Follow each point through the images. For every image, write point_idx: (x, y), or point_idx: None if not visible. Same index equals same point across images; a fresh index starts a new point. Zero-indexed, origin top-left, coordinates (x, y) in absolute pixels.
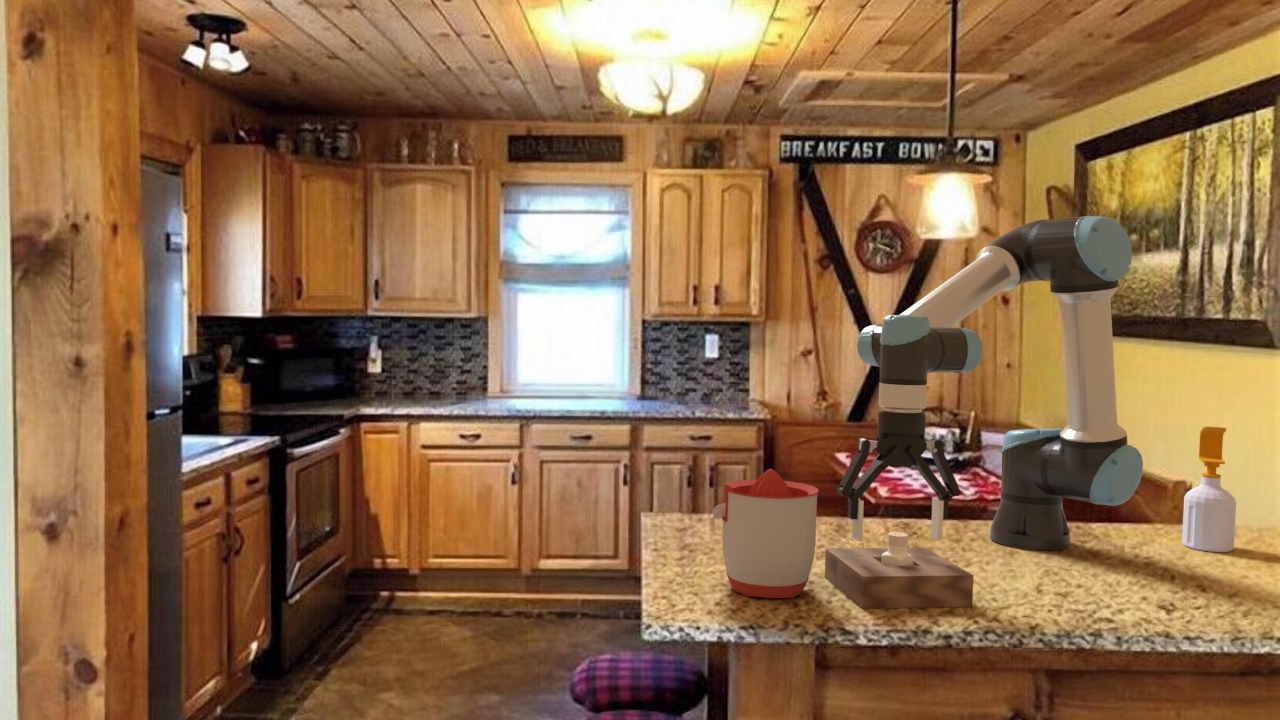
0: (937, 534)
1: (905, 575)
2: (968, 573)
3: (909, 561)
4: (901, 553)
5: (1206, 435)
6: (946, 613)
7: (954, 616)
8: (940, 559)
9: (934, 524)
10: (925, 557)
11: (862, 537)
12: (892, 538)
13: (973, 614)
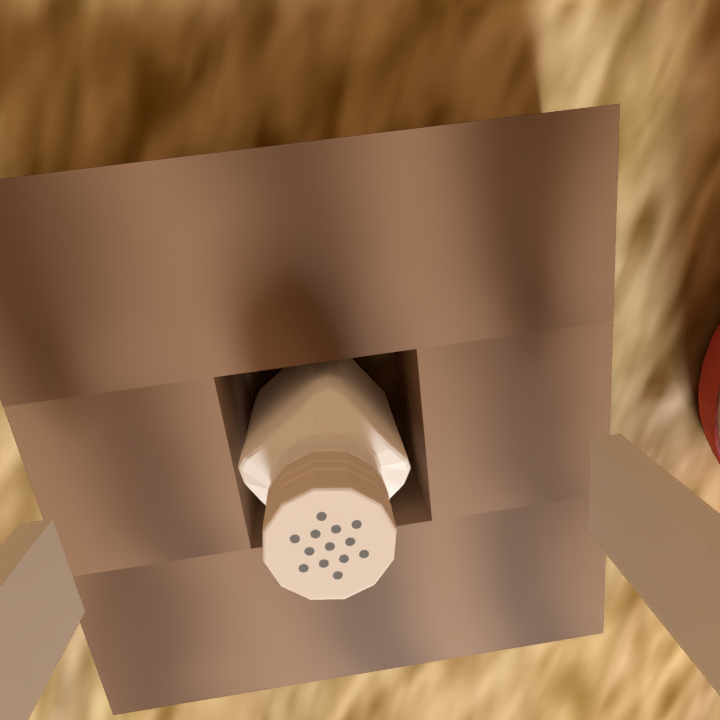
0: (36, 552)
1: (361, 152)
2: None
3: (266, 427)
4: (316, 434)
5: None
6: (172, 69)
7: (143, 18)
8: (75, 515)
9: (23, 649)
10: (151, 543)
11: (602, 448)
12: (379, 492)
13: (41, 58)
